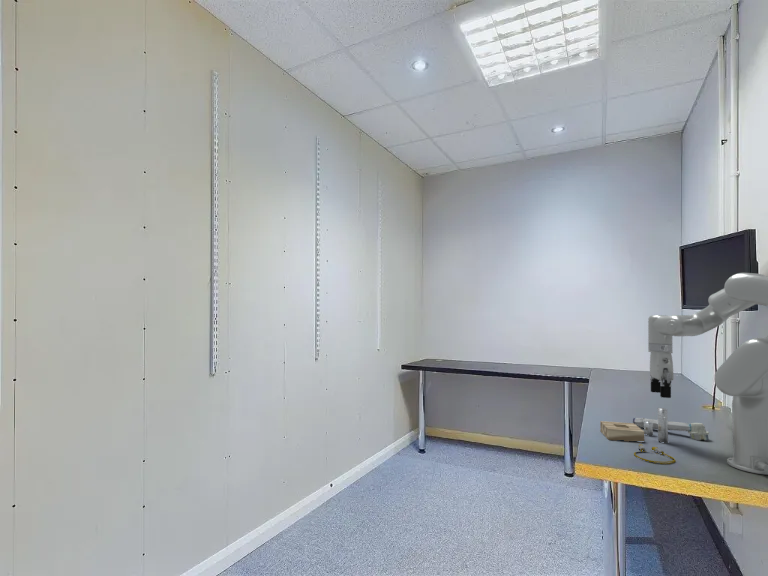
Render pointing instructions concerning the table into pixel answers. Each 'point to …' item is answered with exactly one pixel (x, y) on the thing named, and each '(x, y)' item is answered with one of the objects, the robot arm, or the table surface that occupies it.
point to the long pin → (662, 425)
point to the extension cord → (657, 451)
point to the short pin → (648, 427)
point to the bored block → (621, 431)
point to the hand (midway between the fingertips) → (660, 394)
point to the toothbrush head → (678, 427)
